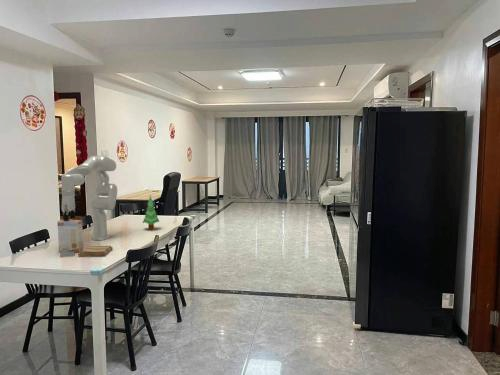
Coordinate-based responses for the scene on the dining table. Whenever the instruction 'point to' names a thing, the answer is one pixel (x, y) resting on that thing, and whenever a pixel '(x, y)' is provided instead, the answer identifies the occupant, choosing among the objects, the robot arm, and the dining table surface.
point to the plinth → (95, 251)
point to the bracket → (67, 253)
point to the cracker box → (70, 235)
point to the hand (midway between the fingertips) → (69, 219)
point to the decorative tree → (150, 215)
